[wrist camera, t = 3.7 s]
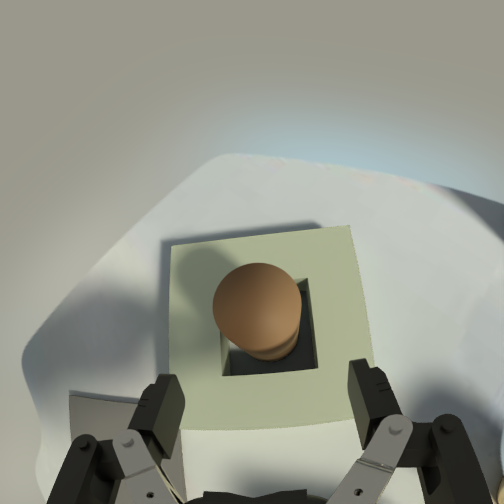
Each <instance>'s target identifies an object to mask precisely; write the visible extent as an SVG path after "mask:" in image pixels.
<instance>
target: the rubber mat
mask: <svg viewBox="0 0 504 504" xmlns="http://www.w3.org/2000/svg"><path fill="white" fill-rule="evenodd" d="M137 405H138V404H135V403H124V402H115V401H107V400H99V399H92V398H86V397H79V396H73V395H69V410H70V429H71V441H72V442H73V441H74V439H75V438H76V437H78V436H80V435H82V434H90V435H92V436H94V437H95V438H96V440H97V441H101V440H110V439H114V437H115V436H116V434H118V433H119V432H121V431H123V430H127V428H128V426H129V423H130V421H131V419H132V416H133V414H134V412H135V409H136V407H137ZM161 466H162V467H163V469H164V471H165V473H166V474H167V476H168V478H169V479H170V481H171V483H172V484H173V486H174V488H175V489H176V491H177V492H178V494H179V495H180V497H181V498H182V499H183V501H184V502H185V503H186V502H187V497H186V488H185V479H184V469H183V459H182V447H181V433H180V429H179V431H178V434H177V438H176V441H175V445H174V449H173V453H172V456H171V460H170V459H162V462H161ZM115 504H134V502H133V500H132V498H131V496H130V494H129V491H128V489H127V487H126V485H125V482H124V479H122V480H121V483H120V487H119V490H118V494H117V498H116V501H115Z"/></svg>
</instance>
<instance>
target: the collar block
mask: <svg viewBox="0 0 504 504" xmlns="http://www.w3.org/2000/svg"><path fill="white" fill-rule="evenodd" d="M250 263H267V264H271V265H274V266H277V267H279V268H281V269H282V270H284V271H285V272H286V273H288V274H289V275H290V276H291V278H292V279H293V280H294V281H295V283H296V285H297V287H298V289H299V291H306V293H307V301H308V309H309V317H310V326H311V335H312V344H313V353H314V363H315V369H309V370H300V371H291V372H281V373H270V374H257V375H241V376H231V375H230V356H229V339H227V338H226V337H225V336H224V335H223V334H222V333H221V331H220V330H219V328H218V326H217V325H216V322H215V320H214V316H213V309H212V307H213V298H214V294H215V291H216V289H217V287H218V285H219V284H220V282H221V281H222V280H223V278H224V277H225V276H226V275H227V274H228V273H230V272H231V271H232V270H234V269H236V268H238V267H240V266H242V265H246V264H250ZM362 358H366V360H367V362H368V364H369V367H370V368H373V367H375V365H374V357H373V349H372V342H371V335H370V329H369V322H368V316H367V310H366V304H365V298H364V293H363V287H362V282H361V277H360V272H359V267H358V262H357V257H356V253H355V248H354V244H353V239H352V235H351V231H350V227H349V225H347V226H337V227H328V228H319V229H309V230H300V231H291V232H283V233H274V234H265V235H256V236H248V237H239V238H231V239H223V240H214V241H206V242H198V243H190V244H182V245H174V246H171V263H170V288H169V374H175V375H176V376H177V378H178V381H179V383H180V386H181V388H182V391H183V393H184V396H185V409H184V413H183V416H182V420H181V423H180V427H179V429H188V430H255V429H273V428H285V427H296V426H306V425H314V424H322V423H329V422H335V421H342V420H348V419H353V418H354V414H353V411H352V407H351V403H350V400H349V396H348V389H347V382H348V368H349V361H350V360H356V359H362Z"/></svg>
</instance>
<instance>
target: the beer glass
mask: <svg viewBox="0 0 504 504" xmlns="http://www.w3.org/2000/svg"><path fill="white" fill-rule="evenodd" d="M497 501H498V504H504V477H503V479H502V481H501V483H500V486H499V489H498V494H497Z"/></svg>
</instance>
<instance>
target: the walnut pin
mask: <svg viewBox="0 0 504 504" xmlns="http://www.w3.org/2000/svg"><path fill="white" fill-rule="evenodd" d="M212 309H213V316H214V320H215V322H216V325H217V326H218V328H219V330H220V331H221V333H222V334H223V335H224V336H225V337H226V338H227V339H229V340H230V341H231V342H233V343H234V344H235V345H237V346H238V347H239V348H241V349H242V350H244V351H245V352H246V353H248V354H249V355H251V356H252V357H253V358H255V359H257V360H260V361H263V362H275V361H279V360H281V359H283V358H285V357H286V356H288V355H289V354H290V353H291V352H292V351H293V349H294V348H295V346H296V343H297V340H298V333H299V324H300V315H301V295H300V292H299V289H298V287H297V285H296V283H295V281H294V280H293V279H292V278H291V276H290V275H289V274H288V273H286V272H285V271H284V270H282V269H281V268H279V267H277V266H274V265H271V264H267V263H250V264H246V265H242V266H240V267H238V268H236V269H234V270H232V271H231V272H230V273H228V274H227V275H226V276H225V277H224V278H223V280H222V281H221V282H220V284H219V285H218V287H217V289H216V291H215V294H214V298H213V307H212Z"/></svg>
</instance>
